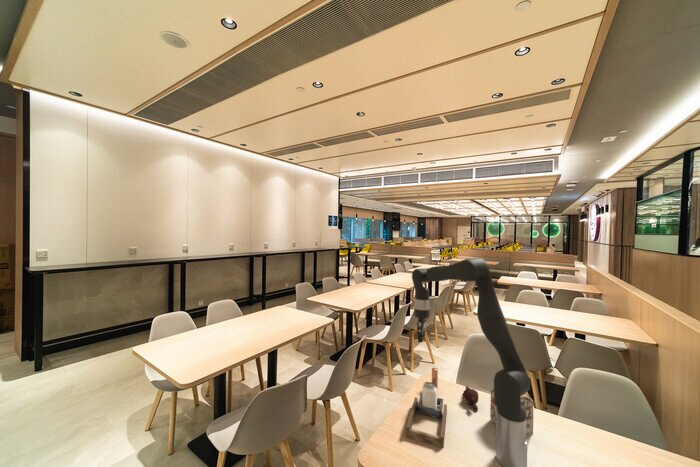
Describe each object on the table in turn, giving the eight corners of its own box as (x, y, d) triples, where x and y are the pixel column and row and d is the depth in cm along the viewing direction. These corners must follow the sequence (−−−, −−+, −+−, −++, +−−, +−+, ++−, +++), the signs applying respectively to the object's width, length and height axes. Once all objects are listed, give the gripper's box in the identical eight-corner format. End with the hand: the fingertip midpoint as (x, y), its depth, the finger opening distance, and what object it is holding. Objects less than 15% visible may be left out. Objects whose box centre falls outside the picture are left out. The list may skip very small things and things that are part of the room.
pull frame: (445, 388, 145) (445, 369, 145) (441, 418, 121) (441, 396, 121) (424, 384, 149) (425, 365, 149) (417, 412, 125) (417, 390, 125)
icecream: (457, 380, 142) (465, 400, 127) (472, 378, 141) (482, 398, 126) (460, 393, 142) (468, 414, 128) (475, 391, 141) (485, 412, 126)
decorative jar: (511, 415, 125) (511, 376, 125) (534, 434, 113) (534, 390, 113) (489, 419, 122) (489, 379, 122) (510, 438, 110) (510, 394, 111)
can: (438, 416, 124) (438, 389, 124) (423, 415, 124) (423, 388, 124) (434, 407, 130) (435, 381, 130) (420, 406, 131) (421, 381, 131)
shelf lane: (446, 413, 126) (446, 404, 126) (443, 447, 105) (443, 437, 105) (414, 405, 131) (415, 397, 131) (405, 436, 111) (406, 426, 111)
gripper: (427, 312, 133) (427, 345, 133) (431, 305, 146) (430, 335, 146) (412, 310, 136) (411, 342, 136) (416, 303, 149) (416, 333, 149)
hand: (421, 339), depth 141 cm, fingers open, 8 cm apart
